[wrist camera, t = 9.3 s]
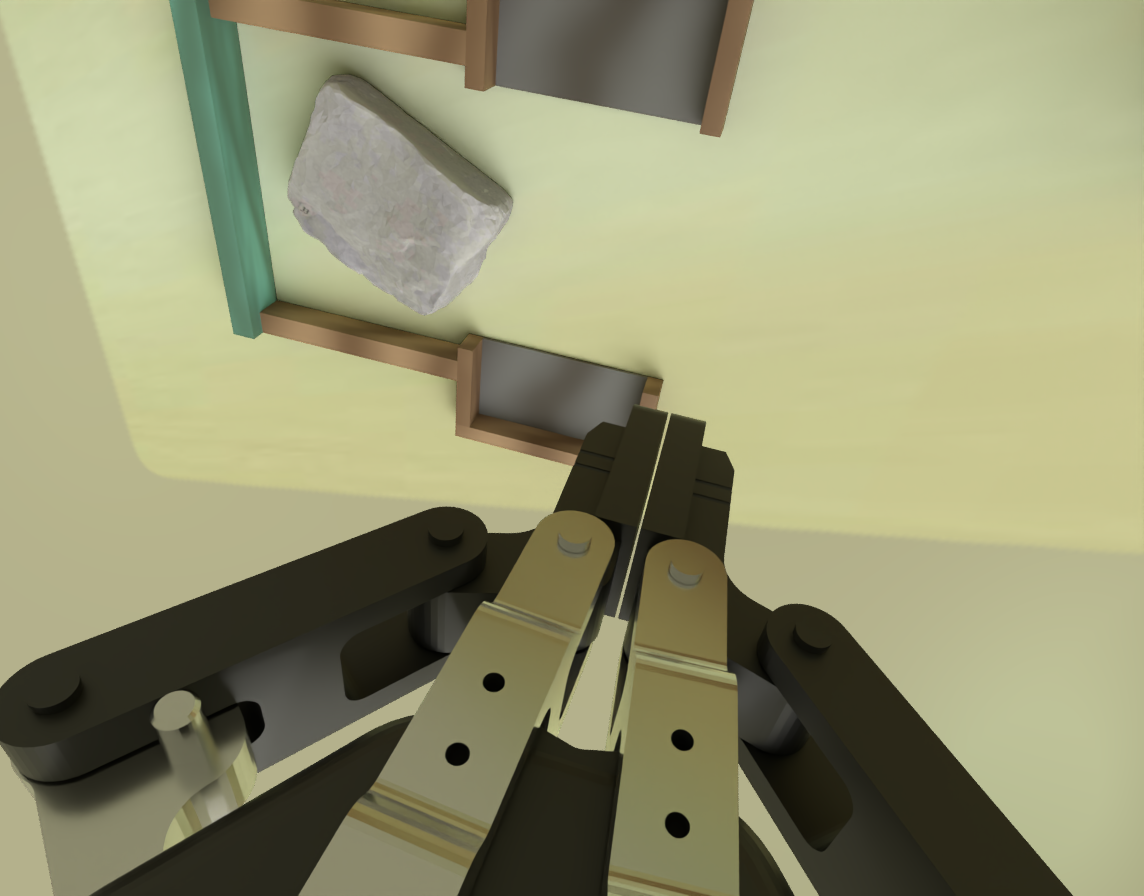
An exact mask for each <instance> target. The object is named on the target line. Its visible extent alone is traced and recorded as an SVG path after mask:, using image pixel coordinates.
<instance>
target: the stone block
mask: <svg viewBox="0 0 1144 896" xmlns="http://www.w3.org/2000/svg"><path fill="white" fill-rule="evenodd" d="M288 199H289V200H290V201H291V203H292V204H293V206H294V210H293V213H294V216H295V217H296V219H297V220H298V222H299V224H300V225H301V227H302V229H303V230H304V231H305V232H306V233H307V234H308V235H310V236H312V237H314V238H316V239H318V240H320V241H321V242H322V243H323V244H324V245H325V246H326V247H327V249H328V250H329V252H330V253H331V254H332V255H334V256H335V257H336V258H337V259H338V260H340V261H341V262H342V263H343V264H345V265H346V266H347V267H349V268H350V269H352V270H354V271H356V272H357V273H359V274H363V275H364V276H365V278H366V279H368V280H369V281H370V282H371V283H372V284H373V285H375V286H376V287H378V288H380V289H381V290H383V291H384V292H386V293H388V294H391V295H394V296H395V297H396V299H397V301H399V302H401V303H403V304H404V305H406V306H408V307H409V308H411V309H412V310H414V311H416V312H418V313H419V314H421V315H424V316H425V315H427V314H431V313H434V312H435V311H437V310H438V309H440V308H443V307H445V306H446V305H448V304H449V303H450V302H452V301H453V300H454V298H455V297H456V296H457V295H459V294H460V293H461V291H462V290H463V289H464V288H465V287H466V286H467V285H469V284H471V283H472V282H473V280H474V279H475V278H476V277H477V276H478V272H479V270H480V267H481V264H482V262H483V260H484V259H485V258H486V252H487V248H488V246H489V245H490V244H491V242H492V241H493V240H494V239H496V237H497V235H498V234H499V233H500V231H501V229H502V228H503V226H504V225H505V223H506V222H507V221H508V218H509V216H510V214H511V209H512V206H513V201H512V199H511V197H510V196H509V195H508V193H507V192H506V191H505V190H504V189H502V188H501V187H500V186H499V185H498V184H497V183H495V182H494V181H493V180H491V179H490V178H489V177H487V176H486V175H485V174H484V173H482V172H481V171H480V170H479V169H477V168H476V167H475V166H473V165H472V164H471V163H469V162H468V161H467V160H465V159H464V158H463V157H462V156H460V155H459V154H458V153H457V152H455V151H454V150H453V149H451V148H450V147H449V146H448V145H446V144H445V143H444V142H443V141H441V140H440V139H439V138H437V137H436V136H435V135H433V134H432V133H431V132H430V131H429V130H427V129H426V128H425V127H424V126H422V125H421V124H420V123H419V122H417V121H416V120H414V119H413V118H412V117H410V116H409V115H407V114H406V113H405V112H404V111H403V110H402V109H401V108H400V107H398V106H397V105H396V104H394V103H393V102H392V101H391V100H389V99H388V98H387V97H386V96H384V95H383V94H382V93H381V92H380V91H378V90H376V89H375V88H374V87H373V86H371V85H370V84H369V83H368V82H366V81H364V80H363V79H360V78H358V77H355V76H352V75H332V76H331V77H330V78H329V79H328V80H327V81H325V83H324V84H323V86H322V87H321V89H320V91H319V93H318V95H317V97H316V101H315V108H314V110H313V112H312V114H311V118H310V125H309V127H308V130H307V133H306V136H305V138H304V140H303V143H302V145H301V148H300V151H299V154H298V156H297V158H296V159H295V163H294V167H293V170H292V173H291V176H290V179H289V182H288Z"/></svg>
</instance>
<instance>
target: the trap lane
mask: <svg viewBox="0 0 1144 896" xmlns="http://www.w3.org/2000/svg"><path fill="white" fill-rule="evenodd" d="M169 2H170V7H171V12H172V17H173V22H174V27H175V33H176V38H177V43H178V48H179V53H180V59H181V64H182V69H183V74H184V79H185V84H186V90H187V95H188V100H189V105H190V110H191V115H192V121H193V126H194V131H195V136H196V141H197V146H198V152H199V157H200V162H201V167H202V172H203V177H204V183H205V188H206V193H207V198H208V203H209V208H210V214H211V219H212V224H213V229H214V234H215V239H216V245H217V250H218V255H219V260H220V265H221V271H222V276H223V281H224V286H225V291H226V296H227V302H228V307H229V312H230V317H231V322H232V327H233V333H234V334H236V335H240V336H244V337H248V338H252V339H255V338H256V337H257V336H259V335H260V334H261V333H267V334H271V335H275V336H279V337H283V338H287V339H291V340H295V341H299V342H303V343H307V344H311V345H315V346H319V347H323V348H327V349H331V350H335V351H339V352H343V353H347V354H351V355H355V356H359V357H363V358H367V359H371V360H375V361H379V362H383V363H387V364H391V365H395V366H399V367H403V368H407V369H411V370H415V371H419V372H423V373H427V374H431V375H435V376H439V377H443V378H447V379H451V380H455V381H457V395H456V433H455V436H459V437H463V438H467V439H471V440H475V441H478V442H482V443H486V444H490V445H494V446H498V447H501V448H505V449H509V450H513V451H517V452H521V453H525V454H528V455H532V456H536V457H540V458H544V459H548V460H551V461H555V462H559V463H563V464H567V465H571V466H573V465H574V464H575V461H576V458H577V456H578V453H579V452H580V449H581V446H582V444H583V442H584V439H585V437H586V435H587V433H588V432H589V431H591V430H592V429H593V428H595V427H596V426H597V425H599V424H600V423H602V422H607V423H611V424H615V425H619V426H623V427H626V425H627V422H628V419H629V416H630V414H631V411H632V408H633V405H634V404H636V405H640V406H644V407H648V408H652V409H657V405H658V401H659V396H660V392H661V388H662V384H663V380H660V379H656V378H652V377H648V376H644V375H640V374H635V373H631V372H627V371H623V370H619V369H615V368H610V367H606V366H602V365H598V364H594V363H590V362H586V361H581V360H577V359H573V358H569V357H565V356H561V355H556V354H552V353H548V352H544V351H540V350H536V349H531V348H527V347H523V346H519V345H515V344H511V343H506V342H502V341H498V340H494V339H490V338H486V337H481V336H477V335H473V334H468V336H467V337H466V338H465V339H464V341H463V342H462V343H461V344H460V345H459V344H455V343H451V342H447V341H443V340H438V339H434V338H430V337H426V336H422V335H418V334H414V333H410V332H405V331H401V330H397V329H393V328H389V327H385V326H381V325H377V324H373V323H368V322H364V321H360V320H356V319H352V318H348V317H344V316H340V315H336V314H331V313H327V312H323V311H319V310H315V309H311V308H307V307H303V306H298V305H294V304H290V303H286V302H282V301H278V300H277V298H276V291H275V284H274V277H273V270H272V263H271V257H270V250H269V243H268V236H267V229H266V222H265V216H264V209H263V202H262V195H261V188H260V181H259V174H258V168H257V161H256V154H255V147H254V140H253V133H252V127H251V120H250V113H249V106H248V99H247V92H246V86H245V79H244V72H243V65H242V58H241V51H240V45H239V38H238V31H237V24H236V22H238V23H243V24H248V25H254V26H259V27H264V28H269V29H275V30H280V31H285V32H291V33H296V34H301V35H306V36H312V37H317V38H322V39H327V40H333V41H338V42H343V43H348V44H354V45H359V46H364V47H369V48H375V49H380V50H385V51H391V52H396V53H401V54H406V55H412V56H417V57H422V58H427V59H433V60H438V61H443V62H448V63H454V64H459V65H464V66H465V88H468V89H473V90H478V91H485V90H487V89H489V88H491V87H493V86H495V85H496V86H501V87H506V88H511V89H516V90H522V91H527V92H532V93H537V94H542V95H548V96H553V97H558V98H563V99H568V100H573V101H579V102H584V103H589V104H594V105H599V106H605V107H610V108H615V109H620V110H625V111H631V112H636V113H641V114H646V115H651V116H657V117H662V118H667V119H672V120H677V121H682V122H688V123H693V124H698V125H701V129H700V134H705V135H710V136H715V137H720V136H721V134H722V131H723V128H724V124H725V120H726V115H727V111H728V107H729V103H730V99H731V94H732V90H733V86H734V82H735V78H736V73H737V69H738V65H739V61H740V57H741V53H742V48H743V44H744V40H745V36H746V32H747V27H748V23H749V19H750V15H751V11H752V6H753V2H754V0H467V18H466V24H463V23H458V22H452V21H447V20H441V19H436V18H430V17H425V16H419V15H414V14H408V13H403V12H397V11H392V10H386V9H381V8H375V7H370V6H364V5H359V4H353V3H348V2H342V1H337V0H169Z"/></svg>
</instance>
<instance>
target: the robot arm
mask: <svg viewBox="0 0 1144 896" xmlns="http://www.w3.org/2000/svg"><path fill="white" fill-rule="evenodd" d="M667 416H668V412H664V411H660V410H656V409H652V408H648V407H644V406H640V405H636V404H634V405H633V408H632V411H631V414H630V416H629V419H628V422H627V425H626V427H623V426H619V425H615V424H611V423H607V422H602V423H600V424H599V425H597V426H596V427H595V428H593V429H592V430H591V431H589V432H588V433H587V435H586V437H585V439H584V442H583V444H582V446H581V449H580V452H579V453H578V456H577V458H576V461H575V464H574V465H573V468H572V470H571V472H570V475H569V477H568V479H567V482H566V484H565V487H564V489H563V491H562V494H561V496H560V498H559V501H558V503H557V505H556V508H555V510H554V512H553V514H550V515H548V516H547V517H545V518H544V519H542V520H541V521H540V522H539V524H538V525H537V527H536V528H535V529H533V530H530V531H526V532H521V533H487V529H486V527H485V524H484V523H483V522H482V520H481V519H480V518H479V517H477V516H476V515H474V514H473V513H471V512H469V511H467V510H464V509H461V508H456V507H437V508H432V509H429V510H426V511H423V512H420V513H418V514H415V515H413V516H410V517H407V518H404V519H402V520H399V521H397V522H394V523H392V524H389V525H386V526H384V527H381V528H378V529H376V530H373V531H371V532H368V533H366V534H363V535H360V536H357V537H355V538H352V539H350V540H347V541H344V542H342V543H339V544H336V545H334V546H331V547H329V548H326V549H324V550H321V551H318V552H316V553H313V554H310V555H308V556H305V557H303V558H300V559H297V560H295V561H292V562H289V563H287V564H284V565H281V566H279V567H276V568H274V569H271V570H268V571H266V572H263V573H261V574H258V575H255V576H253V577H250V578H247V579H245V580H242V581H240V582H237V583H234V584H232V585H229V586H226V587H224V588H221V589H219V590H216V591H213V592H211V593H208V594H206V595H203V596H200V597H198V598H195V599H193V600H190V601H187V602H185V603H182V604H179V605H177V606H174V607H172V608H169V609H166V610H164V611H161V612H158V613H156V614H153V615H151V616H148V617H145V618H143V619H140V620H138V621H135V622H132V623H130V624H127V625H124V626H122V627H119V628H116V629H114V630H111V631H109V632H106V633H103V634H101V635H98V636H96V637H93V638H90V639H88V640H85V641H82V642H80V643H77V644H75V645H72V646H69V647H67V648H64V649H61V650H59V651H56V652H54V653H51V654H49V655H46V656H44V657H41V658H39V659H37V660H35V661H33V662H31V663H30V664H28V665H26V666H25V667H23V668H22V669H20V670H19V671H18V672H16V673H15V674H14V675H13V676H11V677H10V678H9V679H8V680H7V681H6V683H4V684H3V685H2V687H1V688H0V745H1V747H2V748H3V749H4V751H5V752H6V754H7V755H8V756H9V757H10V760H11V765H12V767H13V770H14V772H15V773H16V775H17V776H18V777H19V778H20V780H21V782H22V783H23V784H24V786H25V787H26V788H27V790H28V791H29V793H30V794H31V795H32V797H33V798H34V800H35V801H36V804H37V810H38V815H39V820H40V825H41V831H42V836H43V841H44V847H45V851H46V857H47V863H48V867H49V873H50V878H51V884H52V889H53V894H54V896H794V894H793V892H792V890H791V889H790V887H789V885H788V883H787V881H786V879H785V878H784V876H783V874H782V872H781V871H780V869H779V867H778V865H777V864H776V862H775V860H774V858H773V857H772V855H771V854H770V852H769V851H768V850H767V848H766V847H765V845H764V844H763V842H762V841H761V840H760V838H759V837H758V836H757V835H756V834H755V833H754V832H753V830H752V829H751V828H750V827H749V826H748V825H747V824H746V823H745V822H744V821H743V820H742V819H741V818H740V817H739V812H738V810H739V808H738V807H739V806H738V764H739V765H740V767H741V769H742V770H743V771H744V774H745V775H746V777H747V778H748V780H749V782H750V783H751V785H752V787H753V788H754V790H755V791H756V793H757V795H758V796H759V798H760V800H761V801H762V803H763V805H764V806H765V808H766V809H767V811H768V813H769V814H770V816H771V818H772V819H773V821H774V823H775V824H776V826H777V827H778V829H779V831H780V832H781V834H782V836H783V837H784V839H785V841H786V842H787V844H788V845H789V847H790V849H791V850H792V852H793V854H794V855H795V857H796V858H797V860H798V862H799V863H800V865H801V867H802V868H803V870H804V872H805V873H806V874H807V877H808V878H809V880H810V881H811V883H812V885H813V886H814V888H815V890H816V891H817V893H818V894H819V896H1073V895H1072V894H1071V893H1070V892H1069V891H1068V889H1067V888H1066V887H1065V886H1064V885H1063V883H1062V882H1061V881H1060V880H1059V879H1058V878H1057V877H1056V875H1055V874H1054V873H1053V872H1052V871H1051V870H1050V868H1049V867H1048V866H1047V865H1046V863H1045V862H1044V861H1043V860H1042V859H1041V858H1040V856H1039V855H1038V854H1037V853H1036V852H1035V851H1034V849H1033V848H1032V847H1031V846H1030V845H1029V843H1028V842H1027V841H1026V840H1025V839H1024V838H1023V836H1022V835H1021V834H1020V833H1019V832H1018V831H1017V829H1016V828H1015V827H1014V826H1013V825H1012V824H1011V822H1010V821H1009V820H1008V819H1007V818H1006V817H1005V815H1004V814H1003V813H1002V812H1001V811H1000V809H999V808H998V807H997V806H996V805H995V804H994V802H993V801H992V800H991V799H990V798H989V797H988V795H987V794H986V793H985V792H984V791H983V790H982V789H981V787H980V786H979V785H978V784H977V782H976V781H975V780H974V779H973V778H972V777H971V775H970V774H969V773H968V772H967V771H966V769H965V768H964V767H963V766H962V765H961V764H960V762H959V761H958V760H957V759H956V758H955V757H954V756H953V754H952V753H951V752H950V751H949V750H948V749H947V747H946V746H945V745H944V744H943V742H942V741H941V740H940V739H939V738H938V737H937V735H936V734H935V733H934V732H933V731H932V730H931V729H930V727H929V726H928V725H927V724H926V722H925V721H924V720H923V719H922V718H921V717H920V715H919V714H918V713H917V712H916V711H915V710H914V708H913V707H912V706H911V705H910V704H909V703H908V701H907V700H906V699H905V698H904V697H903V695H902V694H901V693H900V692H899V691H898V690H897V688H896V687H895V686H894V685H893V684H892V683H891V681H890V680H889V679H888V678H887V677H886V676H885V675H884V673H883V672H882V671H881V670H880V669H879V667H878V666H877V665H876V664H875V663H874V661H873V660H872V659H871V658H870V657H869V656H868V654H867V653H866V652H865V651H864V650H863V649H862V647H861V646H860V645H859V644H858V643H857V642H856V640H855V639H854V638H853V637H852V636H851V634H850V633H849V632H848V631H847V630H846V629H845V627H844V626H843V625H842V624H841V623H840V622H839V621H837V620H836V619H835V618H834V617H832V616H831V615H829V614H828V613H826V612H824V611H822V610H820V609H817V608H815V607H812V606H808V605H804V604H788V605H784V606H781V607H779V608H777V609H776V610H774V611H771V610H769V609H768V608H766V607H764V606H762V605H760V604H758V603H757V602H755V601H753V600H752V599H750V598H749V597H747V596H746V595H745V594H743V593H742V592H741V591H740V590H739V589H738V588H737V587H736V586H735V585H734V584H733V582H732V581H731V580H730V578H729V576H728V575H727V572H726V569H725V566H724V553H725V545H726V536H727V528H728V520H729V511H730V503H731V494H732V486H733V478H734V469H733V466H732V464H731V462H730V460H729V458H728V456H727V454H726V452H723V451H719V450H715V449H711V448H707V447H703V446H702V442H703V437H704V431H705V426H706V422H705V421H701V420H697V419H693V418H689V417H685V416H681V415H677V414H673V413H671V417H670V421H669V424H668V428H667V432H666V436H665V439H664V443H663V447H662V451H661V455H660V458H659V462H658V466H657V470H656V474H655V477H654V481H653V485H652V489H651V492H650V496H649V500H648V504H647V508H646V511H645V515H644V519H643V523H642V527H641V531H640V534H639V538H638V542H637V546H636V550H635V554H634V558H633V562H632V566H631V570H630V574H629V578H628V582H627V586H626V590H625V594H624V598H623V602H622V605H621V609H620V613H619V619H622V620H626V621H629V622H628V626H627V630H626V634H625V638H624V642H623V646H622V649H621V653H620V657H619V662H618V669H617V676H616V682H615V688H614V695H613V701H612V708H611V715H610V721H609V727H608V734H607V740H606V747H605V751H598V750H582V749H578V748H575V747H573V746H571V745H569V744H568V743H566V742H564V741H563V740H561V739H559V738H558V737H557V736H558V733H559V731H560V728H561V725H562V723H563V720H564V718H565V715H566V712H567V710H568V707H569V705H570V702H571V700H572V697H573V695H574V692H575V690H576V687H577V685H578V682H579V679H580V677H581V674H582V672H583V669H584V667H585V664H586V662H587V659H588V657H589V654H590V651H591V648H592V644H593V641H594V640H595V639H596V637H597V635H598V633H599V630H600V626H601V623H602V619H603V616H604V615H607V616H611V617H615V614H616V611H617V607H618V603H619V599H620V596H621V592H622V588H623V585H624V581H625V577H626V573H627V570H628V566H629V562H630V558H631V555H632V551H633V547H634V544H635V540H636V536H637V532H638V529H639V525H640V521H641V518H642V514H643V510H644V506H645V503H646V499H647V495H648V491H649V487H650V484H651V480H652V476H653V472H654V468H655V464H656V460H657V456H658V452H659V448H660V444H661V440H662V436H663V432H664V428H665V424H666V420H667ZM434 679H436V680H435V681H434V683H433V685H432V686H431V688H430V690H429V691H428V693H427V695H426V696H425V698H424V700H423V702H422V704H421V705H420V707H419V708H418V711H417V712H416V714H415V715H412V716H408V717H404V718H400V719H397V720H394V721H391V722H389V723H387V724H384V725H382V726H379V727H377V728H375V729H373V730H371V731H369V732H368V733H366V734H364V735H362V736H361V737H359V738H357V739H355V740H354V741H352V742H350V743H349V744H347V745H345V746H343V747H342V748H340V749H338V750H337V751H335V752H333V753H332V754H330V755H328V756H326V757H325V758H323V759H321V760H319V761H318V762H316V763H314V764H313V765H311V766H309V767H308V768H306V769H304V770H302V771H301V772H299V773H297V774H295V775H294V776H292V777H290V778H289V779H287V780H285V781H284V782H282V783H280V784H278V785H277V786H275V787H273V788H271V789H270V790H268V791H266V792H265V793H263V794H261V795H259V796H258V797H256V798H254V799H253V800H251V801H249V802H247V803H246V804H244V802H245V801H246V800H247V798H248V797H249V795H250V793H251V791H252V789H253V787H254V784H255V781H256V777H257V773H259V772H260V771H262V770H264V769H266V768H268V767H270V766H272V765H274V764H275V763H277V762H279V761H281V760H283V759H285V758H287V757H289V756H291V755H293V754H295V753H296V752H298V751H300V750H302V749H304V748H306V747H308V746H310V745H312V744H313V743H315V742H317V741H319V740H321V739H323V738H325V737H326V736H329V735H330V734H332V733H334V732H336V731H338V730H340V729H342V728H344V727H346V726H347V725H349V724H351V723H353V722H355V721H357V720H359V719H361V718H363V717H365V716H366V715H368V714H370V713H372V712H374V711H376V710H378V709H380V708H382V707H383V706H385V705H387V704H389V703H391V702H393V701H395V700H397V699H399V698H400V697H402V696H404V695H406V694H408V693H410V692H412V691H414V690H416V689H417V688H419V687H421V686H423V685H425V684H427V683H429V682H431V681H433V680H434ZM243 804H244V805H243Z"/></svg>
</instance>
